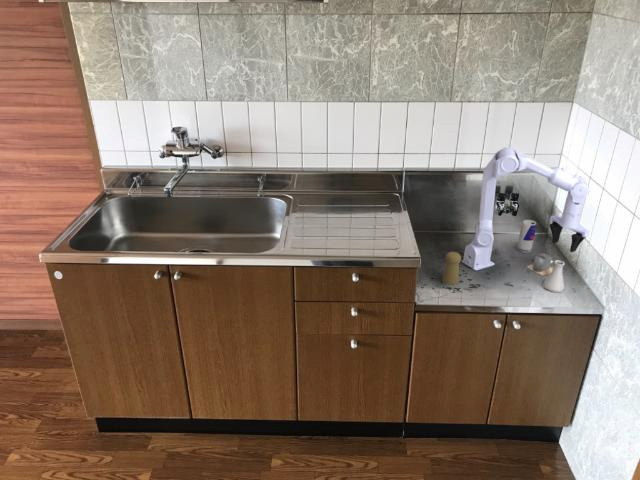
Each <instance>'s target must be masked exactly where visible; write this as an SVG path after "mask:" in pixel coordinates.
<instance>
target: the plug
mask: <svg viewBox="0 0 640 480" xmlns="http://www.w3.org/2000/svg"><path fill="white" fill-rule="evenodd" d="M552 259H553V256H551V255H550V254H547V253H545V252H543V253H540V254H535V256H534V260H533V270H534V271H537V272H541V271H545V270H548V269H549V268H550V267H551V264H553V263H554V260H552ZM534 271H533V272H534Z"/></svg>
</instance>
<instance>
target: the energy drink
mask: <svg viewBox="0 0 640 480" xmlns="http://www.w3.org/2000/svg"><path fill="white" fill-rule="evenodd" d="M536 231H537V222H536V221H535V220H532V219H524V220H522V222H521V225H520V232H519V236H518V240H517V247H516V249H517V251H519V252H521V253H523V254H524V253H525V254H527V253H531V252H532V250H533V245H534V240H535V235H536Z"/></svg>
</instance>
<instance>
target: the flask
mask: <svg viewBox="0 0 640 480" xmlns="http://www.w3.org/2000/svg"><path fill="white" fill-rule="evenodd" d="M553 263H554V265H553V266H554V267H552V268H553V270H552V272H551V273H550V274H548V276H547V277H546V279H545V280H544V282H543V283H542V287H543V289H545V290H548V291H550V292H553V293H562V292H564V291H565V290H566V288H565V283H564V282H565V281H564V275H563V268H564V266H565V262H564V260H558V259H556V260H553Z"/></svg>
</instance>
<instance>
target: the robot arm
mask: <svg viewBox="0 0 640 480" xmlns="http://www.w3.org/2000/svg"><path fill="white" fill-rule="evenodd" d="M516 170H517V171H518V172H520V171H523V170H529V171H531V172H534V173H536V174H538V175H540V176H543V177H545V178H547V183H548V184H550V185H553V186H554V187H557V188H559V189H561V190H562V191H563V190H564V191H565V192H567V194H566V199H565V203H564V207H563V211H562V214H561V215H562V216H561V217H560V216H557V215H551V216H550V219H549V222H551V223H550V224H549V225H548V226H549V229H550V232H551V239H552V243H553V244H556V243H558V242H559V240H560V237H561V233H562V230H563V229H564V228H565V229H567V230H570V231H573V232H574V233H573V234H570V235H571V244H570V248H569V251H570V253H575V252H576V251H577V249H578V247H580V245H581V243H583V241H584V240H585V239H586V238H587V237H588V236H589V234H590V231H589V230H588V229H587V228H585V227H584V226H582V225H581V224H580V220H581V217H582V212H583V209H584V204H585V200H586V197H587V196H588V195H589V194H590V192H591V190H590V186H589V184H588V183H587V181H586V179H585V178H584V177H582V176H581V175H578V174H575V175H574V174H573V173H570V172H568V171H567V169H566V168H564V167H553V168H552V167H549V166H548V165H546V164H544V163H542V162H541V161H538V160H536V159H534V158H533V157H531V156H530V155H527V154H525V153H524V152H522V151H520V150H515V149H514V148H512V147H509V146H508V147H503V148H501V149H500V150H498V151H496V152H495V153H494V155H493V156H492V158H491V160H490V161H489V162H488V163H487V165H486V166H485V167H484V168H483V171H482V183H481V192H480V202H479V203H480V205H479V215H478V220H477V223H476V225H475V227H474V231H475V236H474V237H473V238H472V240H471V242H470V243H468V244H467V245H466V246H465V248H464V253H463V259H461V262H462V263H463V264H464V265H467V267H469V268H471V269H472V270H474V271H479V270H483V269H486V268H491V267H493V266H495V263H494V262H493V261H491V256H492V250H493V247H494V239H495V237H494V231H493V228H494V227H493V217H494V206H495V197H496V187H497V180H498V179H499V178H501V177H503V176H505V175H508V174H511V173H514V172H515V171H516Z"/></svg>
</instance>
